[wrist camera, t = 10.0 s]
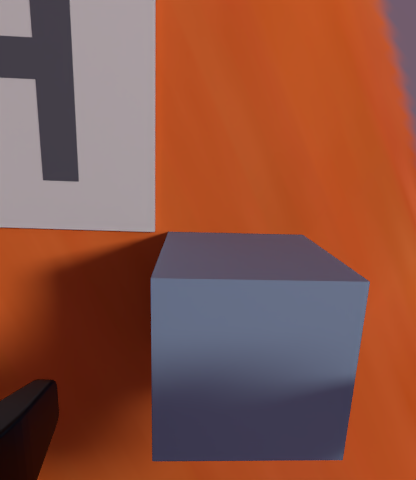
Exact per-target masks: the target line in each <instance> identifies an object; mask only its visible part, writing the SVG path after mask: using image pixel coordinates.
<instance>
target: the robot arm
mask: <svg viewBox="0 0 416 480" xmlns="http://www.w3.org/2000/svg"><path fill="white" fill-rule="evenodd" d="M58 416H59V407H58V394H57V384H56V382H55V381H54V380H45V379H37V380H34V381H32V382H31V383H29V384H27V385H26V386H24V387H22V388H21V389H19V390H17V391H16V392H14V393H12V394H11V395H9V396H7V397H6V398H4V399H2V400H1V401H0V480H37V478H38V475H39V472H40V470H41V467H42V464H43V461H44V458H45V456H46V453H47V450H48V447H49V444H50V441H51V439H52V436H53V433H54V430H55V427H56V425H57V421H58Z"/></svg>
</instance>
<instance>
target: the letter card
mask: <svg viewBox="0 0 416 480" xmlns="http://www.w3.org/2000/svg"><path fill="white" fill-rule="evenodd" d="M0 227H7V228H40V229H72V230H105V231H137V232H155V0H0Z"/></svg>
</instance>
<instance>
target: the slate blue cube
mask: <svg viewBox="0 0 416 480" xmlns="http://www.w3.org/2000/svg"><path fill="white" fill-rule="evenodd" d="M369 284H370V282H369V281H368V280H366V279H365V278H364V277H362V276H361V275H359V274H358V273H357V272H355V271H354V270H352V269H351V268H349V267H348V266H347V265H345V264H344V263H342V262H341V261H339V260H338V259H337V258H335V257H334V256H332V255H331V254H329V253H328V252H327V251H325V250H324V249H322V248H321V247H319V246H318V245H317V244H315V243H314V242H312V241H311V240H309V239H308V238H307V237H305V236H304V235H285V234H241V233H197V232H168V234H167V237H166V239H165V242H164V245H163V247H162V250H161V252H160V255H159V258H158V260H157V263H156V265H155V268H154V271H153V273H152V276H151V363H152V461H262V460H343V454H344V447H345V441H346V434H347V428H348V421H349V415H350V408H351V402H352V395H353V389H354V382H355V376H356V369H357V363H358V356H359V349H360V343H361V336H362V330H363V323H364V317H365V310H366V304H367V297H368V291H369Z"/></svg>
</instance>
